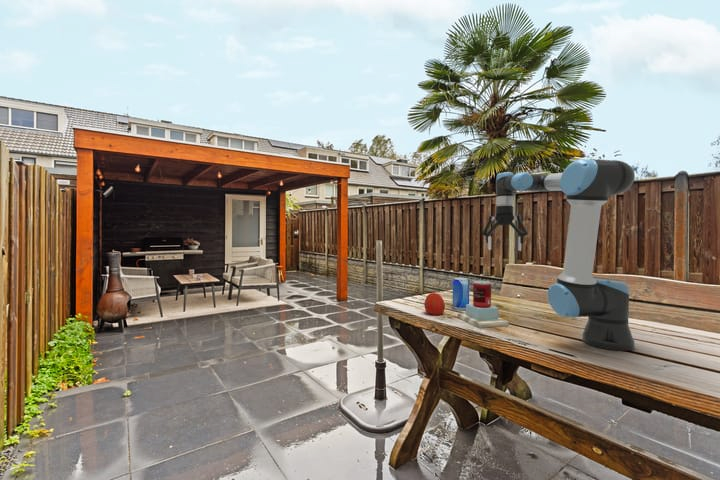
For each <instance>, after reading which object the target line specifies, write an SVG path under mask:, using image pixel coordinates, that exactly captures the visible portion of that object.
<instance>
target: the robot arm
mask: <svg viewBox="0 0 720 480" xmlns="http://www.w3.org/2000/svg"><path fill="white" fill-rule="evenodd" d="M635 177H636V175H635V170H634V169H633V167H632V166H631V165H630V164H629V163H626V162H625V161H622V160H616V159H615V160H614V159H611V160H609V159H608V160H607V159H595V158H594V159H593V158H590V159H589V158H587V159H577V160H574V161H572V162H571V163H569V164H568V166H567V167H565V169H564V170H563V172H556V173H544V174H542V173H541V174H540V173H539V174H537V173H529V172H525V171H523V172H518V173H515V174H514V173H513V172H511V171H507V172H500V173H497V175H496V181H495V194H496V195H495V205H496V207H495V216H492V215H491V216H490V215H489V216H488V221H487V223H486V225H485V227H484V229H483V232H482V236H485V243H487V250H488V251H491V250H492V236H491V235H492V234H493V233H494V231H496V229H497V228H498V227H499V226H509V225H510V226H511V228H513V229H514V231H516V233H517V234H518V235H519V236H518V238H517V239H518V240H517V242H518V243H517V244H518V245H517V246H518V247H517V250H518V251H520V252H521V251H522V244H524V243H525V239H524V238H525V237H526V236H529V232H528V230H527V228H526V227H525V224H524V223H523V221H522V219H521V218H522V216H521V214H519V215H514V206H513V205H514V192H519V191H520V192H559V191H560V192H562V193H564V194H565V195H566V201H567V202H568V204H569V205H570V210H569V218H568V227H567V235H566V236H567V237H566V245H565V252H564V253H565V254H564V261H563V262H564V263H563V270H562V272H561V273H560V274H559V275H557V279H556V283H553V284H551V286H550V287H549V288H548V290H547V301H548V303H549V306H551V309H552V310H553V311H554V313H556V315H559V316H561V317H562V318H580V317H582V318H583V317H588V319H587V322H586V325H585V326H584V327H585V328H584V330H583V332H582V337H581V338H582V342H584V343H586V344H587V345H589V346H591V347H596V348H600V349H604V350H608V351H609V350H610V351H620V352H621V351H622V352H623V351H625V352H627V351H633V350H634V349H635V340H634V338H633V335H632V332H631V327H630V325H629V318H630V317H629V315H630V314H629V313H630V312H629V308H630V295H631V294H630V292H629V291H630V290H629V286H628V284H627V283H625V282H623V281H615V280H610V279H609V280H608V279H603V278H602V279H601V278H594V277H593V272H594V265H595V264H594V263H595V257H596V251H597V250H596V249H597V241H598V235H599V234H598V233H599V225H600V220H601V219H600V218H601V211H602V206H603V205H605V204H606V203H607V202H608V201H609V196H616V195H621V194H623V193H625V192H626V191H628V190H629V189H630V188H631V187H632V186H633V184H634V183H635V182H634V181H635ZM514 220H515V221H517V223H518V225H519V226H520V228H521V230H522V231H521V230H520V229H519V228H518V226H517V225H516V224H515V223H514V222H513V221H514ZM493 221H495V224H494V225H493V226H491V225H492V223H493ZM490 227H491V228H490Z"/></svg>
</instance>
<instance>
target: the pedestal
mask: <svg viewBox="0 0 720 480" xmlns="http://www.w3.org/2000/svg"><path fill="white" fill-rule="evenodd" d="M499 310H500V309H499V307H498V306H494V305H492V304H491V306H490V307H489V308H479V307H475V306H474V305H473V303H469V304H466V310H465V313H466V315H467V316H469V317H471V318H473V319H476V320H478V321H481V320H494V319H499V318H500V317H499V315H500V314H499Z"/></svg>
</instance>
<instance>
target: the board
mask: <svg viewBox="0 0 720 480" xmlns="http://www.w3.org/2000/svg"><path fill="white" fill-rule="evenodd" d="M457 319H460V320H462V321H463V322H466V323H468V324H470V325H472V326H475V327H476V328H479V329H485V328H487V329H488V328H496V327H498V328H499V327H508V326H509V320H506V319H504V318H501V317H499V319H494V320H481V321H478V320H476V319H473V318H471V317H469V316H467V315H466V312H460V313H457Z"/></svg>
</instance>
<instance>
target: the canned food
mask: <svg viewBox="0 0 720 480" xmlns="http://www.w3.org/2000/svg"><path fill="white" fill-rule="evenodd" d="M472 283H473V284H472V286H473V287H472V298H473V299H472V304H473V305H474V306H475V307H479V308H489V307H490V306H491V305H492V282H491V281H488V280H474V281H472Z"/></svg>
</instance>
